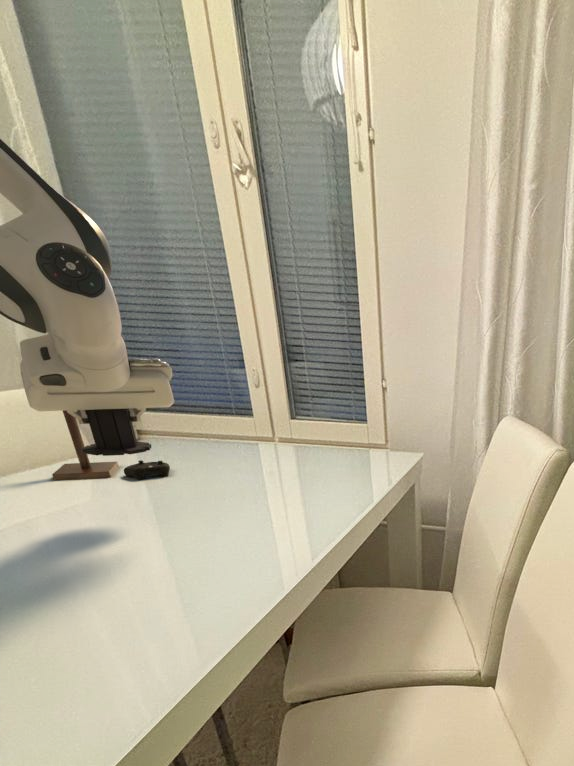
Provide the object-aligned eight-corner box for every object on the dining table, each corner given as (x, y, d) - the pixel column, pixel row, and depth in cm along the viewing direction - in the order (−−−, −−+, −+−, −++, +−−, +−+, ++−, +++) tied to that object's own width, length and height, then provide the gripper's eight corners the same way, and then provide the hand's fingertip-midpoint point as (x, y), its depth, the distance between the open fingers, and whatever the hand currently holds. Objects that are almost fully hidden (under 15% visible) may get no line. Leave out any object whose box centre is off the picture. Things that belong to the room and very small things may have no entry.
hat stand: (54, 480, 122) (26, 401, 114) (66, 470, 131) (41, 395, 123) (110, 478, 126) (87, 401, 118) (119, 467, 135) (98, 395, 127)
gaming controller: (167, 466, 133) (167, 451, 128) (175, 485, 133) (176, 470, 128) (122, 471, 127) (121, 456, 123) (131, 491, 127) (130, 476, 122)
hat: (78, 456, 91) (59, 397, 86) (91, 445, 99) (75, 391, 94) (146, 454, 94) (132, 397, 89) (154, 443, 102) (141, 391, 97)
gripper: (165, 343, 88) (171, 402, 100) (5, 340, 78) (33, 406, 90) (176, 376, 87) (181, 431, 99) (15, 377, 77) (42, 439, 89)
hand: (109, 419), depth 94 cm, fingers closed on hat, 6 cm apart
